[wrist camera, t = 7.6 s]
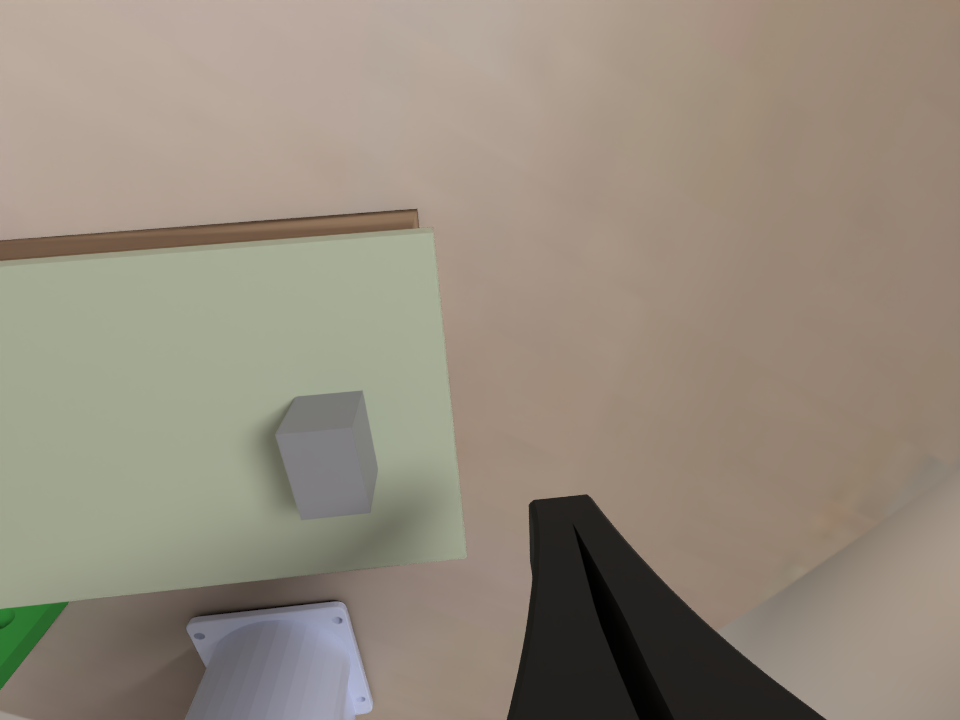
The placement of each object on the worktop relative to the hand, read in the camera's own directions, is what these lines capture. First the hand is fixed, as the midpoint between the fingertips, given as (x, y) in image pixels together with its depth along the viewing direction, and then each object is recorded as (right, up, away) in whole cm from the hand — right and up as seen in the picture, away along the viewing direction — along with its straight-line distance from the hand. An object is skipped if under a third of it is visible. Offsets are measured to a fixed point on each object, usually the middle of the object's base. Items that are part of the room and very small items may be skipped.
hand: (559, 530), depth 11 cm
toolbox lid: (-12, +3, +8) cm, 14 cm away
